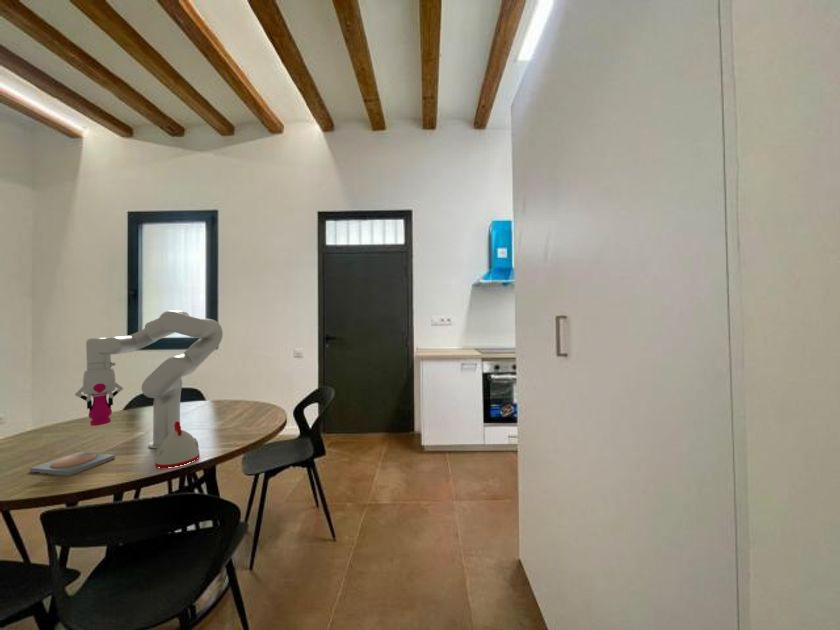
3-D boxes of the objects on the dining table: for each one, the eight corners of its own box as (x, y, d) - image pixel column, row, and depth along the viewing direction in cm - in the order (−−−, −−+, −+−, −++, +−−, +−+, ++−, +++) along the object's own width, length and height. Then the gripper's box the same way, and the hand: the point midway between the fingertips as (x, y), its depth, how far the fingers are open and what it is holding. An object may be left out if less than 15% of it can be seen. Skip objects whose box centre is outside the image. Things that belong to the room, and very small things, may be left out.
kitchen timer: (194, 451, 140) (194, 415, 140) (203, 460, 130) (203, 422, 130) (152, 461, 130) (152, 422, 130) (158, 472, 120) (158, 430, 120)
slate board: (114, 458, 133) (114, 453, 133) (68, 476, 118) (68, 470, 118) (79, 455, 136) (79, 450, 136) (29, 472, 121) (30, 466, 121)
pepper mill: (100, 426, 140) (99, 378, 140) (83, 426, 140) (82, 378, 141) (116, 420, 148) (115, 375, 148) (100, 421, 148) (99, 375, 148)
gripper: (125, 363, 153) (126, 403, 153) (71, 368, 141) (72, 411, 141) (126, 364, 147) (127, 406, 147) (69, 369, 136) (71, 414, 135)
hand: (100, 408), depth 144 cm, fingers closed on pepper mill, 5 cm apart
